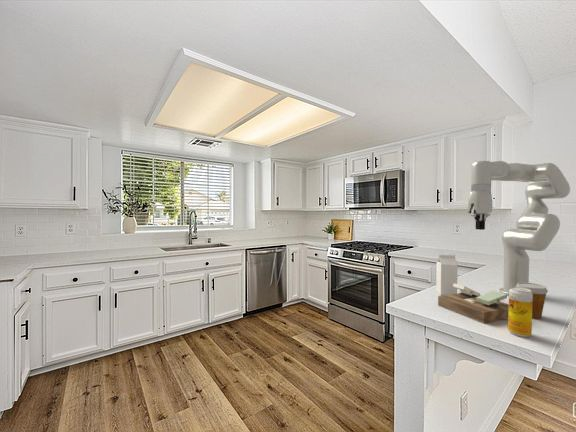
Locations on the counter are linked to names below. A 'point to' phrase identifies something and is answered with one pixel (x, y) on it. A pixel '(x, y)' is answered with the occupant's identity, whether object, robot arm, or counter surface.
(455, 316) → the counter surface
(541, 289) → the disposable coffee cup
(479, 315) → the switch unit
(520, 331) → the beer can
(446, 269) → the milk carton
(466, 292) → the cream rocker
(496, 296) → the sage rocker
